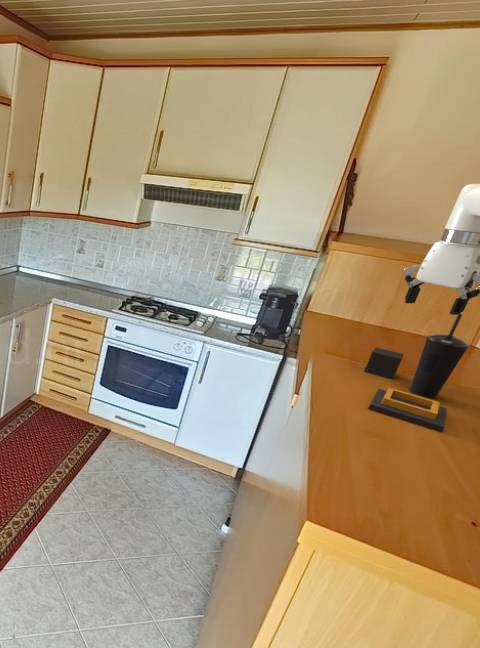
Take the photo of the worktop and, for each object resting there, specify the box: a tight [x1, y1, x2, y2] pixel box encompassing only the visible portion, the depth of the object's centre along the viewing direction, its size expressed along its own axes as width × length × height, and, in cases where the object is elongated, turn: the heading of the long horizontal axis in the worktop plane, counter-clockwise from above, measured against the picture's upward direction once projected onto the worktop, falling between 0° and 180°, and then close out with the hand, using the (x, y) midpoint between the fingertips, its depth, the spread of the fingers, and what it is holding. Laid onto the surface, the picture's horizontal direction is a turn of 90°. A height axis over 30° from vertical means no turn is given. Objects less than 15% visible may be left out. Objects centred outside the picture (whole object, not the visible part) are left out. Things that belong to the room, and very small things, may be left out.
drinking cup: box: [409, 313, 471, 399], centre depth 113 cm, size 8×8×20 cm
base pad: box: [368, 387, 448, 433], centre depth 106 cm, size 14×12×3 cm
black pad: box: [364, 347, 404, 380], centre depth 128 cm, size 6×6×6 cm
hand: (431, 308), depth 122 cm, fingers open, 9 cm apart
